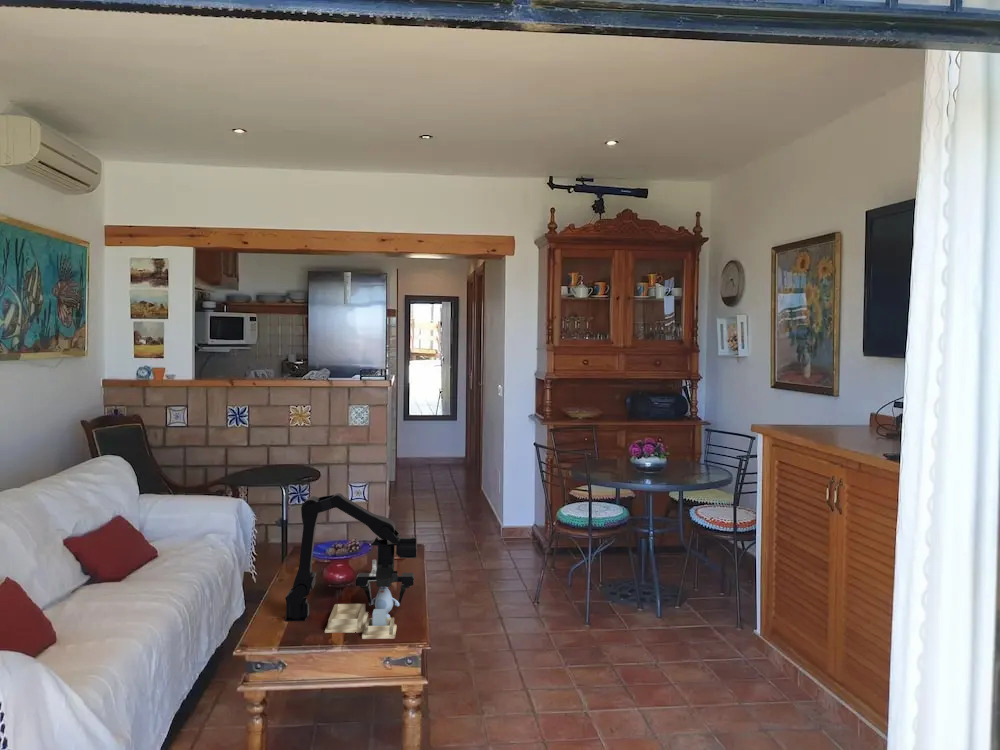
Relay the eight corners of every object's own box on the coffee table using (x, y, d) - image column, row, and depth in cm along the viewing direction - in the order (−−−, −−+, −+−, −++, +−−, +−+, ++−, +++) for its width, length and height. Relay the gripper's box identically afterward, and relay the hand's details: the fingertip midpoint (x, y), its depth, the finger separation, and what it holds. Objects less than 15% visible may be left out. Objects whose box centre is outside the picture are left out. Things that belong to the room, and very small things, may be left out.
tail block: (372, 632, 234) (372, 613, 234) (373, 627, 238) (373, 609, 238) (385, 632, 235) (385, 613, 234) (386, 627, 239) (386, 608, 238)
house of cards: (389, 583, 288) (389, 563, 287) (366, 583, 287) (366, 563, 287) (392, 576, 296) (392, 557, 296) (369, 576, 296) (370, 557, 296)
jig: (322, 639, 231) (322, 626, 231) (332, 615, 252) (332, 603, 252) (394, 638, 232) (394, 625, 232) (398, 614, 253) (398, 602, 253)
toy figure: (365, 619, 248) (365, 583, 248) (372, 614, 254) (372, 578, 254) (396, 621, 246) (395, 584, 246) (402, 615, 252) (402, 579, 252)
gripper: (354, 565, 240) (353, 613, 241) (413, 564, 242) (412, 613, 242) (358, 555, 252) (357, 602, 252) (414, 555, 253) (413, 601, 254)
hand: (384, 604), depth 250 cm, fingers open, 9 cm apart
